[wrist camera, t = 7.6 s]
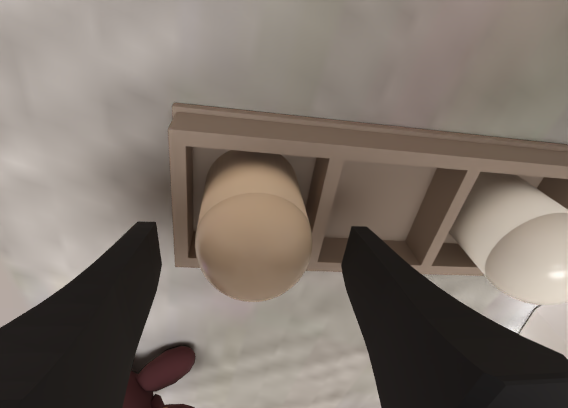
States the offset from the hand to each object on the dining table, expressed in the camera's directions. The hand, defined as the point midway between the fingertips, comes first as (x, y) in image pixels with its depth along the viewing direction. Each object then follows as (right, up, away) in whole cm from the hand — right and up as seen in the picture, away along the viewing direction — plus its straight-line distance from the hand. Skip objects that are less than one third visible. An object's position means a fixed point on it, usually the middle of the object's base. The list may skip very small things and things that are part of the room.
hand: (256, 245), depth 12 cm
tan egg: (-1, +2, +3) cm, 4 cm away
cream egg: (+12, +2, +6) cm, 13 cm away
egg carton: (+6, +2, +5) cm, 8 cm away
